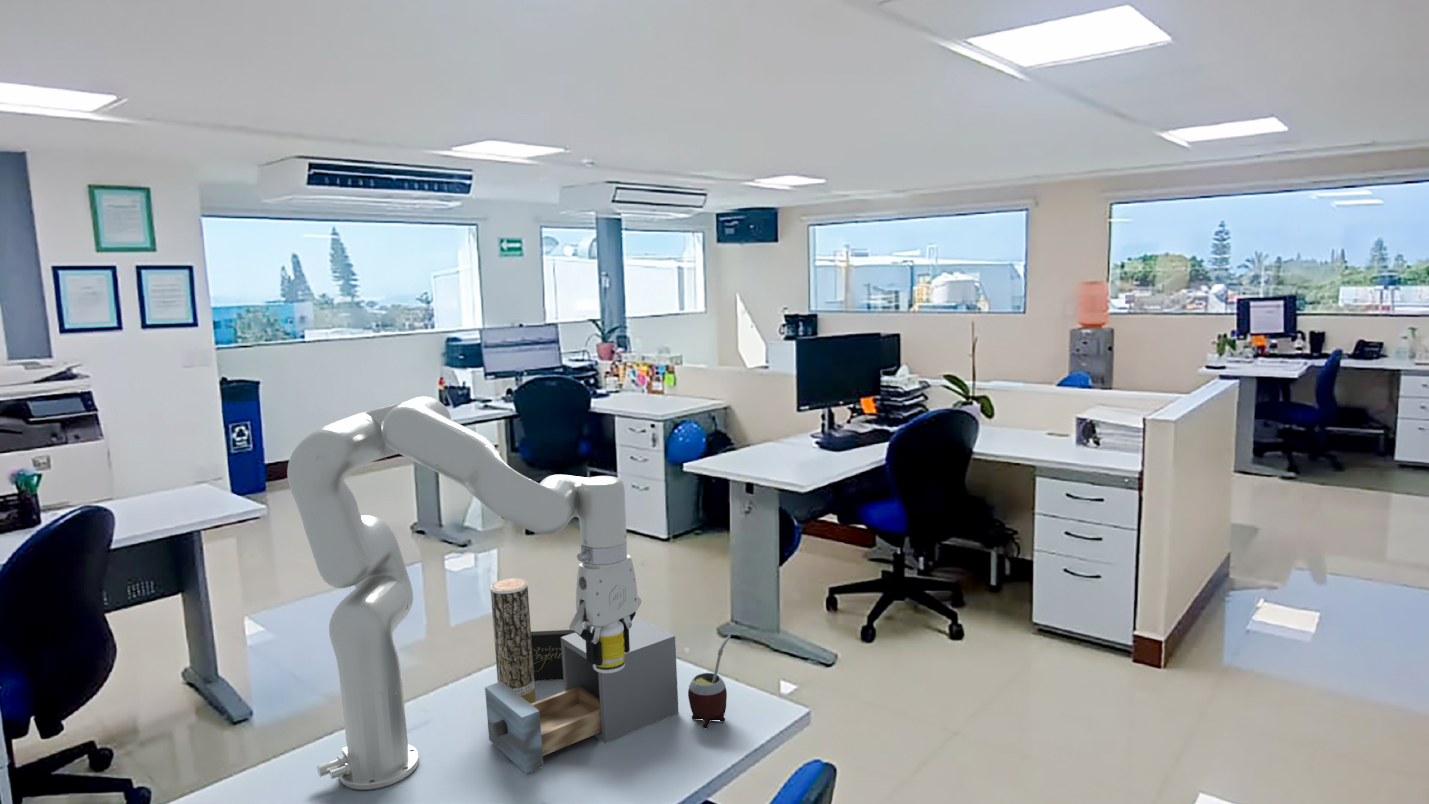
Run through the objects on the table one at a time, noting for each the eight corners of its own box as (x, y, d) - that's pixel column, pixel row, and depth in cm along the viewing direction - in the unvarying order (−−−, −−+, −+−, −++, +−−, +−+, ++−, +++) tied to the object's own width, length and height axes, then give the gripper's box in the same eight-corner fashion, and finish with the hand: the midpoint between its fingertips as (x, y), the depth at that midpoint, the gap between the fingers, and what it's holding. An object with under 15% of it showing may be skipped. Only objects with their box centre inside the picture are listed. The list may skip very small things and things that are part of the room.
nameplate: (517, 682, 176) (514, 636, 175) (519, 678, 178) (516, 632, 176) (619, 677, 177) (617, 631, 175) (620, 673, 178) (617, 627, 177)
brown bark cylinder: (540, 700, 168) (532, 578, 164) (529, 718, 161) (520, 591, 157) (506, 699, 168) (497, 578, 165) (494, 717, 162) (485, 591, 158)
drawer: (516, 777, 141) (512, 720, 139) (480, 742, 152) (476, 689, 150) (617, 735, 153) (614, 682, 151) (576, 705, 164) (573, 656, 162)
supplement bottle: (631, 668, 142) (628, 612, 141) (601, 677, 139) (598, 620, 138) (616, 657, 147) (614, 602, 145) (587, 665, 144) (584, 609, 142)
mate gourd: (685, 728, 155) (682, 650, 153) (695, 706, 163) (692, 632, 161) (725, 731, 154) (722, 652, 152) (733, 709, 161) (731, 634, 159)
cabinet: (605, 743, 151) (601, 662, 149) (565, 713, 162) (560, 637, 160) (678, 712, 161) (675, 635, 159) (635, 685, 172) (632, 614, 170)
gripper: (579, 571, 131) (584, 682, 134) (657, 543, 144) (660, 645, 147) (547, 561, 136) (553, 668, 139) (626, 535, 149) (629, 634, 152)
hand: (608, 655), depth 143 cm, fingers closed on supplement bottle, 5 cm apart
